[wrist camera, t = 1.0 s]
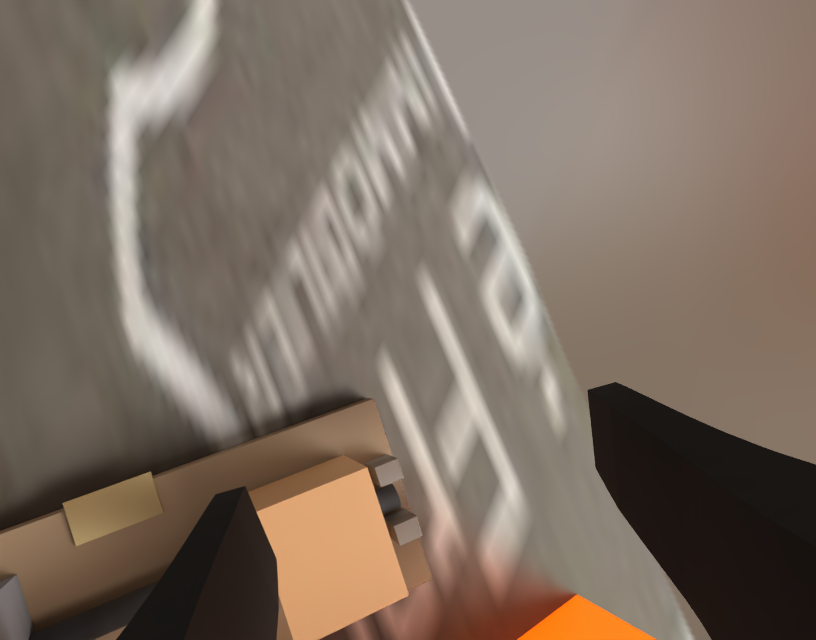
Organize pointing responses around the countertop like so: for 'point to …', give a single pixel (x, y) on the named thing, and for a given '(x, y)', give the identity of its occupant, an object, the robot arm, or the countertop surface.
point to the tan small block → (329, 547)
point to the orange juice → (583, 624)
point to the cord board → (176, 528)
